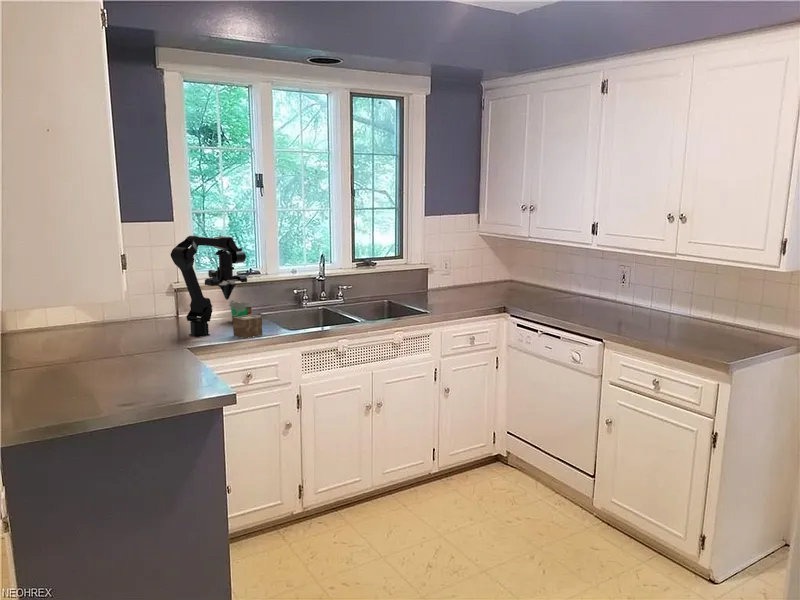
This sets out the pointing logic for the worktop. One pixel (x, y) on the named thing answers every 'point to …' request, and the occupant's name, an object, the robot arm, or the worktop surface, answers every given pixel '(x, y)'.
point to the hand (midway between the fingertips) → (227, 299)
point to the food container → (240, 308)
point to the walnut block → (247, 326)
